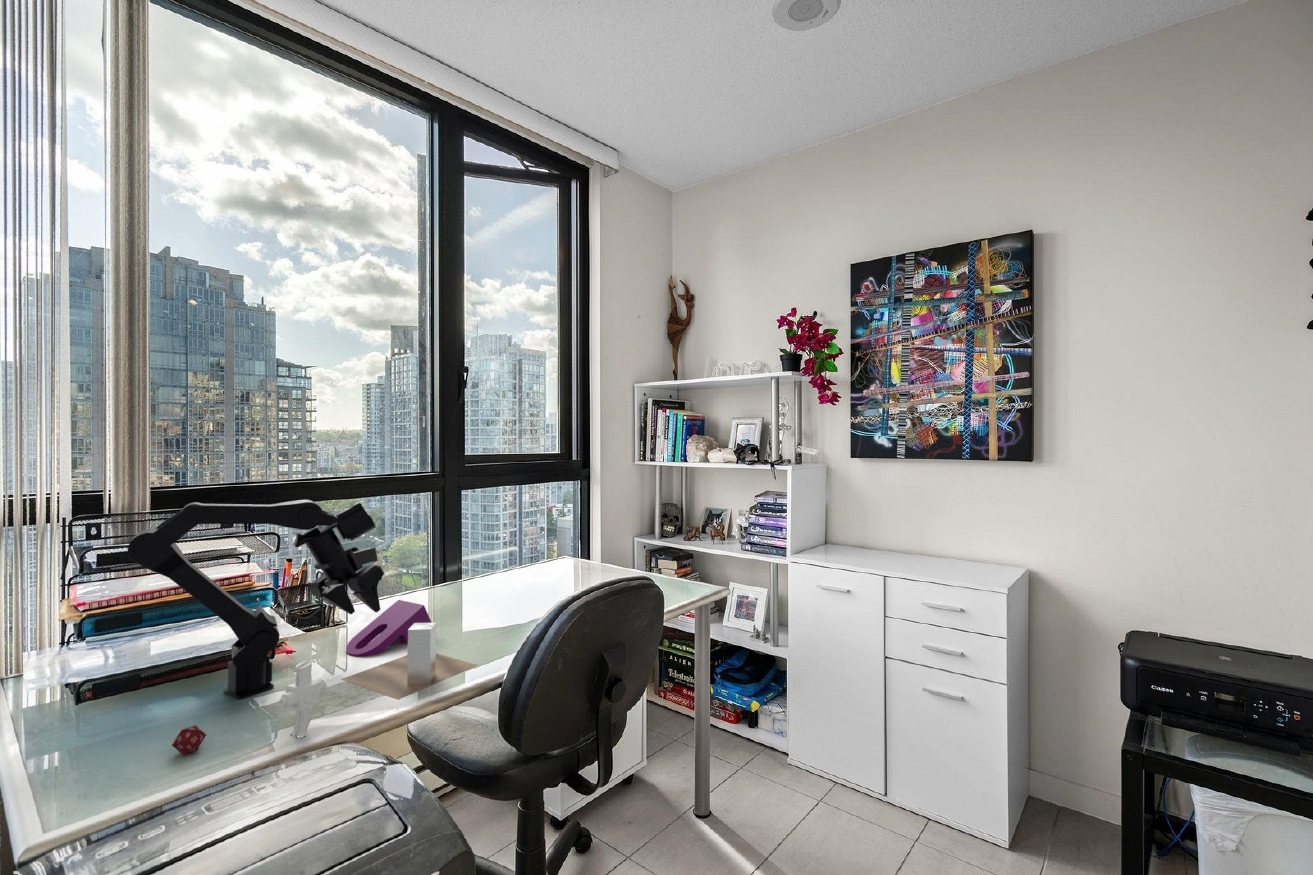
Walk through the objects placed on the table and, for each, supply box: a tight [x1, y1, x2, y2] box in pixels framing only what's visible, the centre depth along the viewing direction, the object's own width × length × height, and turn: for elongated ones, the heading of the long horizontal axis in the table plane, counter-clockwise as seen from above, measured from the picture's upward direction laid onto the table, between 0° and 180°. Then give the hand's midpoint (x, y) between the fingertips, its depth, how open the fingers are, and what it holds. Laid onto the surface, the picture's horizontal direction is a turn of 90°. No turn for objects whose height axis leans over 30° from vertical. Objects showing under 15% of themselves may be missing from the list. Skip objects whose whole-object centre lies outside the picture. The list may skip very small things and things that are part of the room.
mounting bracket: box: [346, 599, 432, 657], centre depth 144 cm, size 10×8×18 cm
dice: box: [171, 725, 207, 756], centre depth 96 cm, size 4×4×4 cm
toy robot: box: [278, 660, 328, 737], centre depth 103 cm, size 4×8×12 cm, turn 155°
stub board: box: [341, 653, 478, 700], centre depth 126 cm, size 20×18×4 cm
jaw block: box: [407, 622, 437, 684], centre depth 122 cm, size 4×4×11 cm
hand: (365, 612), depth 132 cm, fingers open, 9 cm apart
